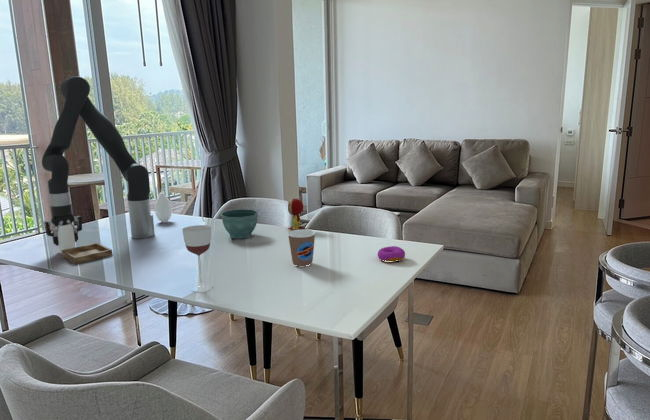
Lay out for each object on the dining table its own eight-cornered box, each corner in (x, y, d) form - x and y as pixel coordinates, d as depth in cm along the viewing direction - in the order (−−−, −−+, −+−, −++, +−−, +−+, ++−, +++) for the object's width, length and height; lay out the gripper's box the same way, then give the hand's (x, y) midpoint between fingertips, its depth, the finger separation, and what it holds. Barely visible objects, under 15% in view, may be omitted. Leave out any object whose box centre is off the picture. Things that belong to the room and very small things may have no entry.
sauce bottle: (153, 223, 244) (150, 189, 240) (161, 220, 251) (158, 186, 247) (168, 224, 242) (164, 189, 239) (175, 220, 250) (172, 186, 246)
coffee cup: (295, 270, 170) (294, 238, 168) (284, 262, 179) (283, 231, 176) (321, 265, 175) (320, 234, 172) (309, 258, 184) (308, 227, 181)
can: (68, 254, 195) (64, 225, 192) (55, 253, 196) (50, 225, 194) (79, 249, 201) (76, 222, 199) (66, 249, 202) (62, 221, 200)
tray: (98, 248, 202) (97, 242, 202) (112, 255, 192) (111, 249, 191) (62, 256, 193) (61, 250, 192) (75, 264, 182) (74, 257, 182)
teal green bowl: (266, 234, 219) (265, 211, 217) (242, 243, 206) (240, 218, 204) (239, 230, 228) (238, 207, 226) (215, 238, 215) (213, 214, 212)
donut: (379, 255, 186) (379, 244, 185) (405, 256, 184) (406, 245, 183) (376, 263, 176) (376, 251, 175) (404, 265, 174) (404, 253, 173)
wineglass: (190, 284, 159) (185, 225, 155) (216, 283, 160) (212, 224, 156) (185, 293, 151) (180, 232, 147) (213, 292, 152) (208, 230, 148)
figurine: (288, 227, 231) (287, 197, 228) (308, 227, 229) (307, 197, 226) (284, 232, 222) (283, 200, 219) (305, 232, 221) (304, 200, 218)
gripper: (76, 199, 202) (81, 238, 205) (38, 205, 192) (44, 245, 195) (82, 202, 197) (87, 241, 200) (43, 207, 187) (49, 248, 190)
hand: (66, 243), depth 198 cm, fingers closed on can, 6 cm apart
